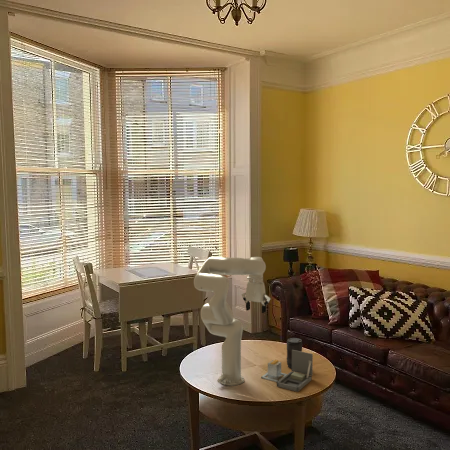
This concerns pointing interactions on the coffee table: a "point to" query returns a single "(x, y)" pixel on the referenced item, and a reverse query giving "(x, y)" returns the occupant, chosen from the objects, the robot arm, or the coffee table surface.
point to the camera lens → (293, 345)
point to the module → (274, 369)
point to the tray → (272, 379)
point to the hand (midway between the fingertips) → (255, 311)
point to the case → (300, 364)
